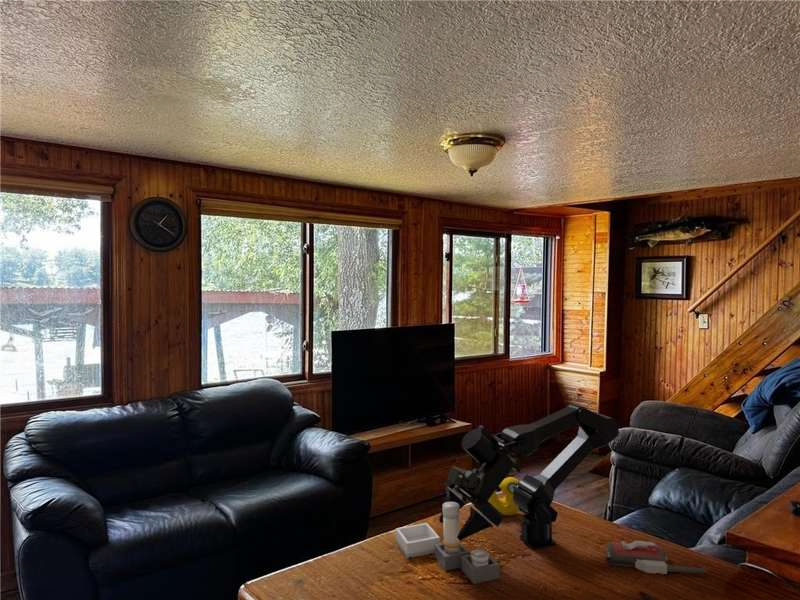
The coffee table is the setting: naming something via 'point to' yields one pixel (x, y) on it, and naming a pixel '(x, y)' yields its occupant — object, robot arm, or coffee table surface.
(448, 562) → the grey square frame
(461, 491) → the robot arm
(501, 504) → the duckling
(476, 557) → the white dome piece
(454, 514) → the white bulb-shaped piece
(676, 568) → the toy chainsaw
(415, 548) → the tray
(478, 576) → the grey boxy piece
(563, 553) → the coffee table surface
